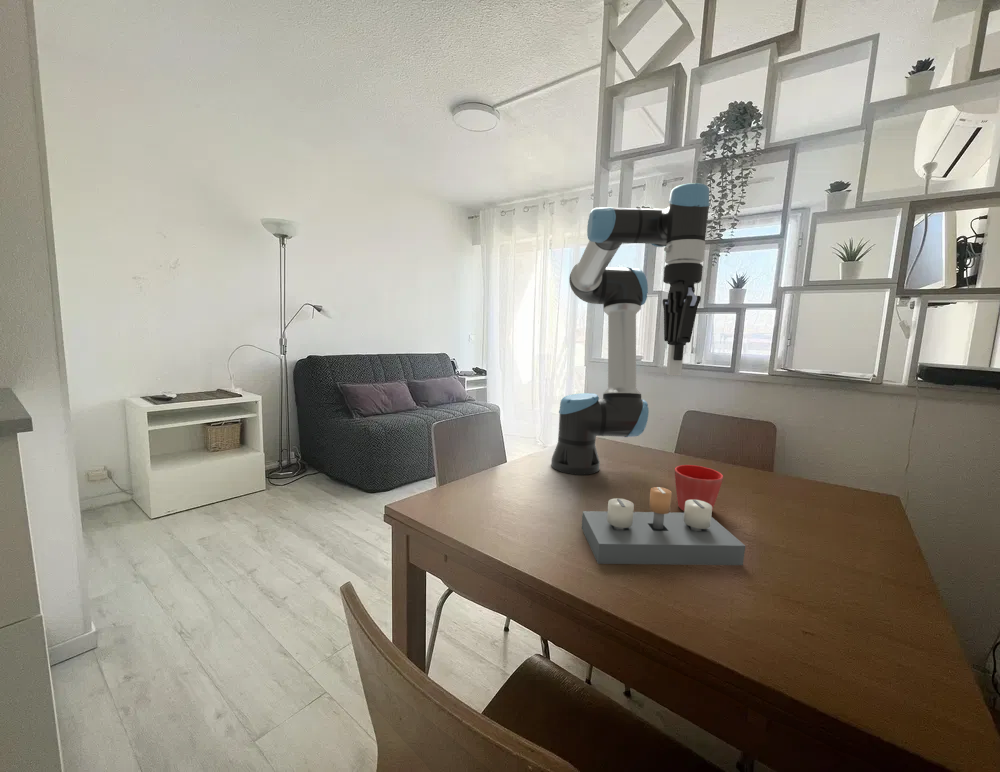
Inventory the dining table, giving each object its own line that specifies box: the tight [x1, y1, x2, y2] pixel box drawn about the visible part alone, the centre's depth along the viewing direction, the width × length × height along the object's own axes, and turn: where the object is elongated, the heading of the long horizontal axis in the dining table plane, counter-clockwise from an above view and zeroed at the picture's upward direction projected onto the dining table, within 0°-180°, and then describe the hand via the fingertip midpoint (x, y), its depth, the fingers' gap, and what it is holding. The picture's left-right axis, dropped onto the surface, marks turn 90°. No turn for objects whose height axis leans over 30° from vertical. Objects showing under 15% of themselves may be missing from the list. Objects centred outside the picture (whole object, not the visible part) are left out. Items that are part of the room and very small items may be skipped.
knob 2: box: [683, 500, 713, 531], centre depth 86 cm, size 5×5×8 cm
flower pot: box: [674, 464, 724, 512], centre depth 104 cm, size 11×11×10 cm
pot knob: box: [648, 486, 673, 529], centre depth 86 cm, size 4×4×8 cm
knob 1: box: [607, 498, 635, 530], centre depth 86 cm, size 5×5×8 cm
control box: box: [581, 510, 746, 566], centre depth 86 cm, size 14×28×4 cm, turn 92°
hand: (673, 374), depth 92 cm, fingers closed
